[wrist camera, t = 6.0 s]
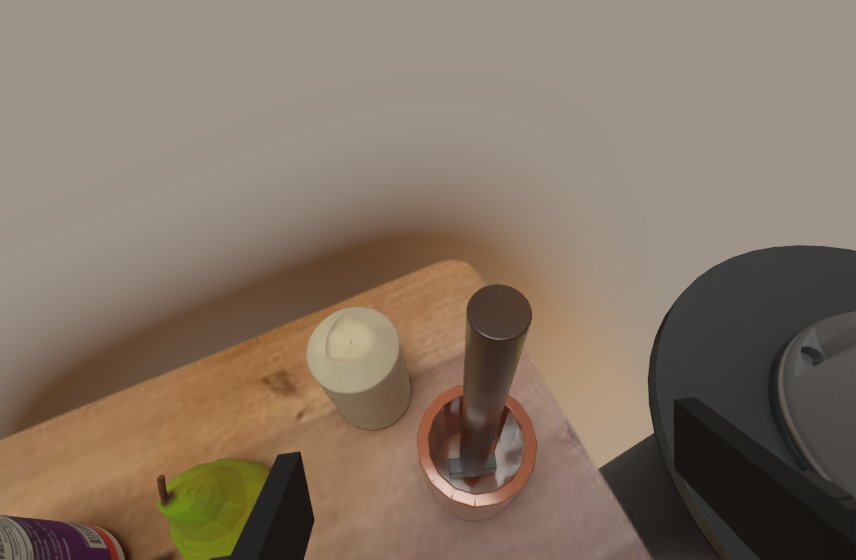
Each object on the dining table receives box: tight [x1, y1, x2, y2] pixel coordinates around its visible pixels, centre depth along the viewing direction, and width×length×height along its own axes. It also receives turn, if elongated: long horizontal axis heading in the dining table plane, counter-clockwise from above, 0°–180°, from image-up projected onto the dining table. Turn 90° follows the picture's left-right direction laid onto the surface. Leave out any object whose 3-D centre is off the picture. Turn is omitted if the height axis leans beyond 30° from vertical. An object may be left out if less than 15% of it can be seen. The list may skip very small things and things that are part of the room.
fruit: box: [157, 459, 270, 560], centre depth 24 cm, size 6×6×12 cm
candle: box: [307, 307, 411, 430], centre depth 29 cm, size 6×6×10 cm
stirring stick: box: [448, 285, 532, 479], centre depth 20 cm, size 3×2×22 cm, turn 96°
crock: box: [417, 385, 537, 521], centre depth 26 cm, size 6×6×9 cm
